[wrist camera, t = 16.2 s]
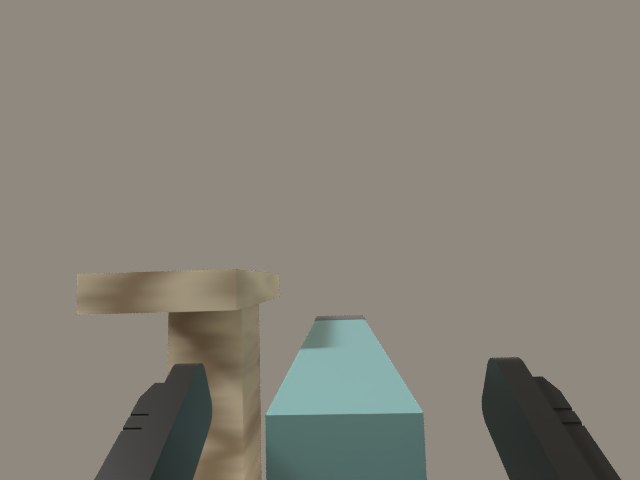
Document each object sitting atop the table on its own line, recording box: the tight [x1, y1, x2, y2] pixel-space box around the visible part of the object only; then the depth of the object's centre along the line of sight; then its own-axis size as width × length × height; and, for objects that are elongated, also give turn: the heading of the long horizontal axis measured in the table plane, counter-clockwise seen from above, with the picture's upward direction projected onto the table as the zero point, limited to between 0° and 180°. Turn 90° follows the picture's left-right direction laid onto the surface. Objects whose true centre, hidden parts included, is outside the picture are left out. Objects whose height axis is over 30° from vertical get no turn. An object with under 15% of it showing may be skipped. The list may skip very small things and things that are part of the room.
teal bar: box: [266, 315, 427, 480], centre depth 23 cm, size 4×26×4 cm, turn 178°
